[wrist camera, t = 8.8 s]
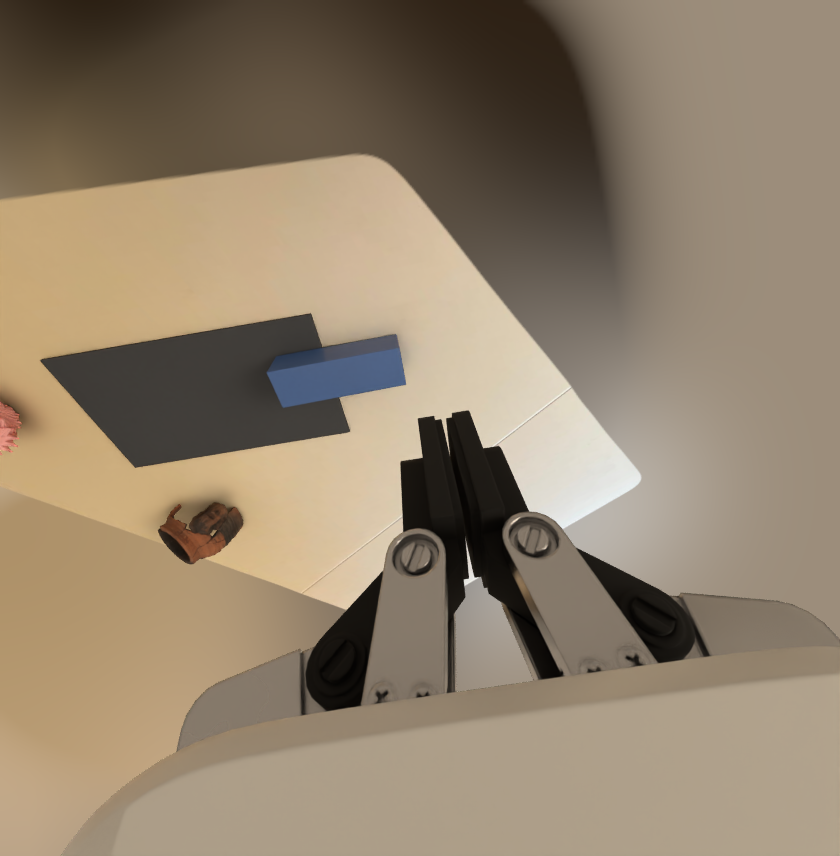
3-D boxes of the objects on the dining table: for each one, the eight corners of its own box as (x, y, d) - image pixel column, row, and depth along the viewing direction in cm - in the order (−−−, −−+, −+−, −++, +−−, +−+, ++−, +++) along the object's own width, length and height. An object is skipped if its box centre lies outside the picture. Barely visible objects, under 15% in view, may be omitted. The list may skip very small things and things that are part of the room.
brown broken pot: (241, 537, 56) (195, 577, 50) (201, 499, 56) (149, 534, 49) (257, 511, 48) (205, 554, 42) (210, 467, 48) (151, 503, 42)
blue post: (396, 333, 37) (276, 356, 37) (399, 347, 34) (266, 372, 33) (402, 368, 40) (290, 389, 40) (406, 384, 36) (282, 408, 36)
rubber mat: (42, 359, 36) (39, 360, 35) (310, 313, 35) (310, 314, 35) (136, 465, 45) (135, 467, 45) (349, 430, 45) (349, 432, 44)
